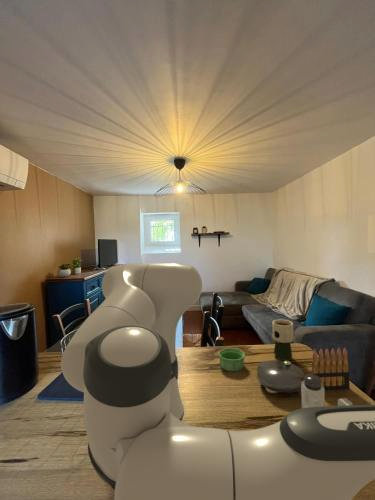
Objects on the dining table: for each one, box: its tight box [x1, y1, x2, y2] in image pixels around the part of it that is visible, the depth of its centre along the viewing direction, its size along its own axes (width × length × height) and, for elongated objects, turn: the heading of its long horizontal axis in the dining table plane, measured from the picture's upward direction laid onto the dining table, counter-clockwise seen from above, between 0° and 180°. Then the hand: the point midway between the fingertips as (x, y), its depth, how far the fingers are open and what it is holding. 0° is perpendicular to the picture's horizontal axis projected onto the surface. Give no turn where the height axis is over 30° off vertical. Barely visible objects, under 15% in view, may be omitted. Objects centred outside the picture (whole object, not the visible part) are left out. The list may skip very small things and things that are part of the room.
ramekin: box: [218, 347, 246, 372], centre depth 89 cm, size 9×9×4 cm
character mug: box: [271, 318, 294, 361], centre depth 93 cm, size 11×7×13 cm, turn 2°
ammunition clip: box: [310, 347, 350, 392], centre depth 74 cm, size 11×2×12 cm, turn 92°
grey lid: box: [256, 359, 305, 396], centre depth 76 cm, size 13×13×5 cm
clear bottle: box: [300, 373, 325, 409], centre depth 61 cm, size 5×5×11 cm
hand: (362, 397), depth 49 cm, fingers open, 8 cm apart
